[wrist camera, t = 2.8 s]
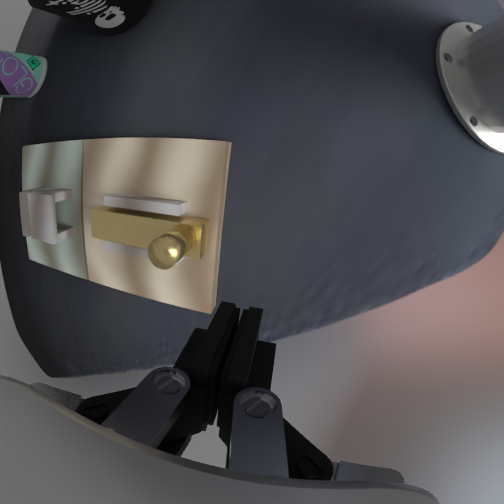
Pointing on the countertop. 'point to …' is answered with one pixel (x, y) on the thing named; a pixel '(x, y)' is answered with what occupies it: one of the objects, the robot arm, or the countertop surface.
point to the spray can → (21, 74)
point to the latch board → (130, 197)
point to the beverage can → (97, 12)
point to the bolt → (152, 233)
